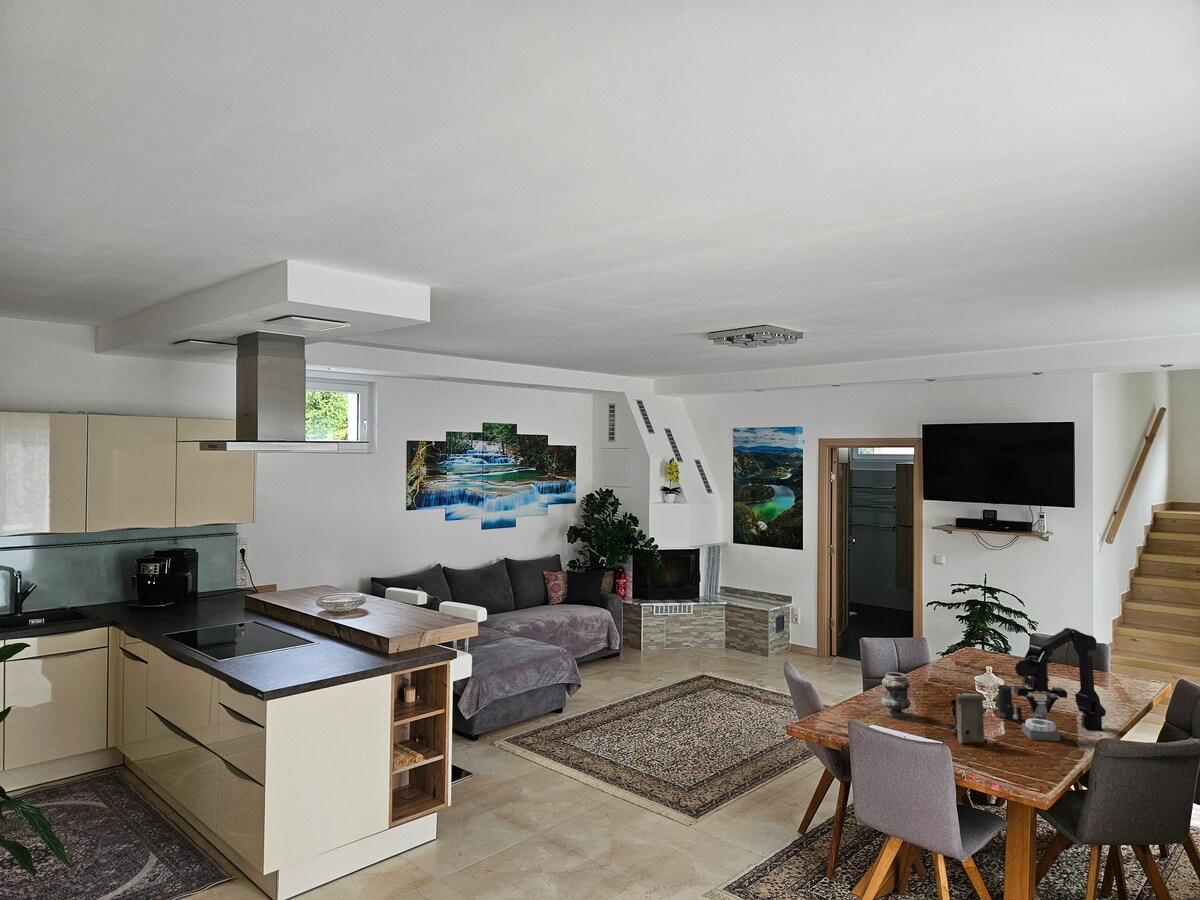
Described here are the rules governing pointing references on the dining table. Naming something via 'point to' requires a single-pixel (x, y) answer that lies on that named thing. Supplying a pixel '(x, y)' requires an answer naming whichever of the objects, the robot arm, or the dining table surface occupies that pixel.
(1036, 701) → the door knob
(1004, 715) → the scope
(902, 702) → the grey stone urn
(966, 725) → the vintage camera
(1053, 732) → the segmented white collar
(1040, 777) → the dining table surface
